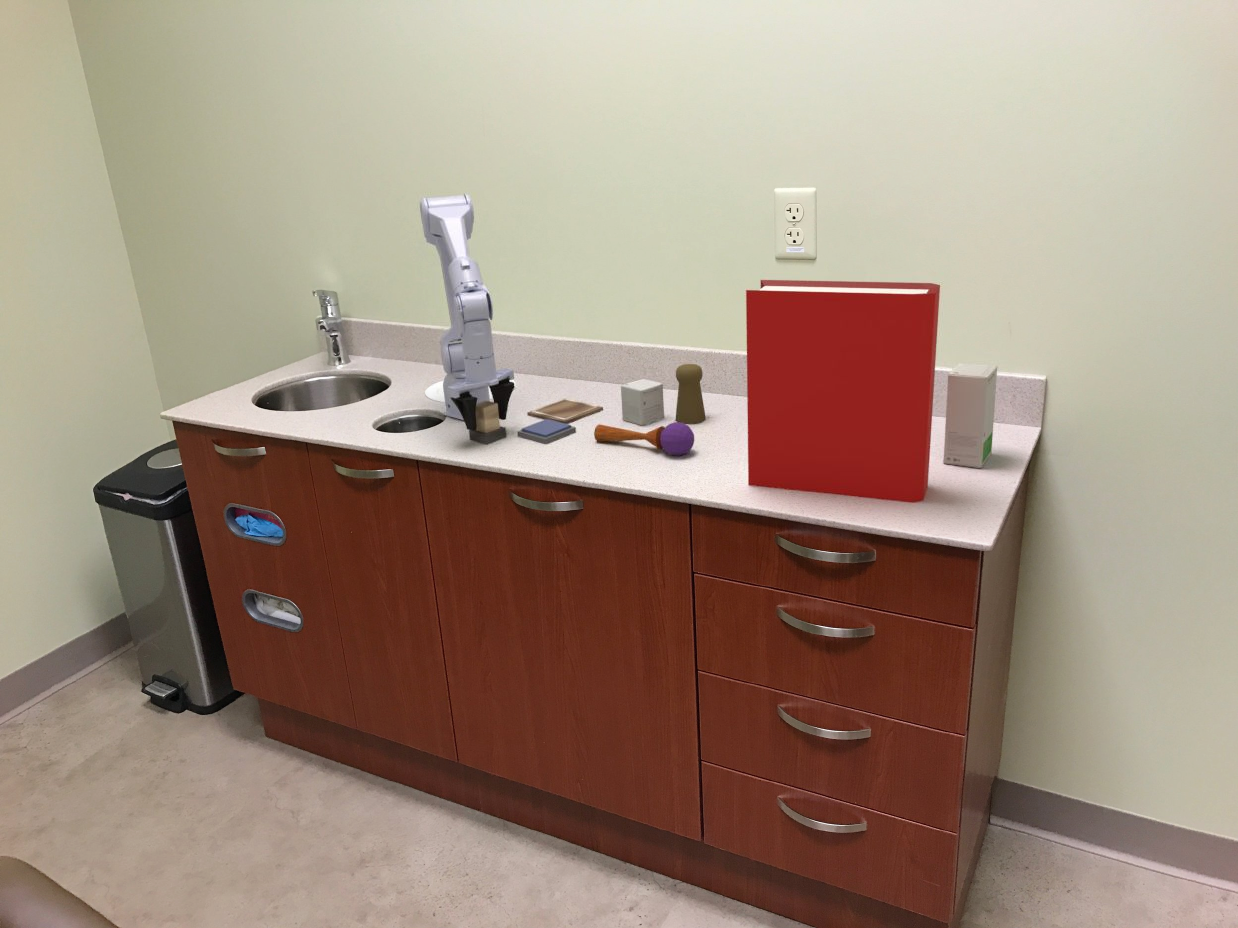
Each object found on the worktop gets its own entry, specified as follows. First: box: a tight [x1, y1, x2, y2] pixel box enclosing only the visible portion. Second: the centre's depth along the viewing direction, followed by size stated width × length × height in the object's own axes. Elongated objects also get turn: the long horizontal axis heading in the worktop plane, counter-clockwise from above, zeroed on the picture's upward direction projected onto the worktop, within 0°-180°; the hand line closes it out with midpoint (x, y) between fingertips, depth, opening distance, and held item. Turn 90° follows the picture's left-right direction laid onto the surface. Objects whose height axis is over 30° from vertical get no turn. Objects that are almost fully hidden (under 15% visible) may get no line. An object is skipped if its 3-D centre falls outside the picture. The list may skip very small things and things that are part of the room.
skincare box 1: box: [620, 378, 665, 426], centre depth 190 cm, size 6×6×7 cm
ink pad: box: [516, 419, 577, 445], centre depth 186 cm, size 8×8×2 cm
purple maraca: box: [593, 421, 695, 456], centre depth 176 cm, size 6×6×20 cm
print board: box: [526, 398, 604, 424], centre depth 198 cm, size 11×11×1 cm
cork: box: [675, 363, 707, 425], centre depth 188 cm, size 6×6×11 cm
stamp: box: [468, 400, 508, 446], centre depth 185 cm, size 5×5×7 cm
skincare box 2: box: [942, 362, 998, 469], centre depth 159 cm, size 8×7×16 cm
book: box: [745, 279, 941, 504], centre depth 149 cm, size 27×8×32 cm, turn 66°
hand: (486, 424), depth 185 cm, fingers open, 7 cm apart
